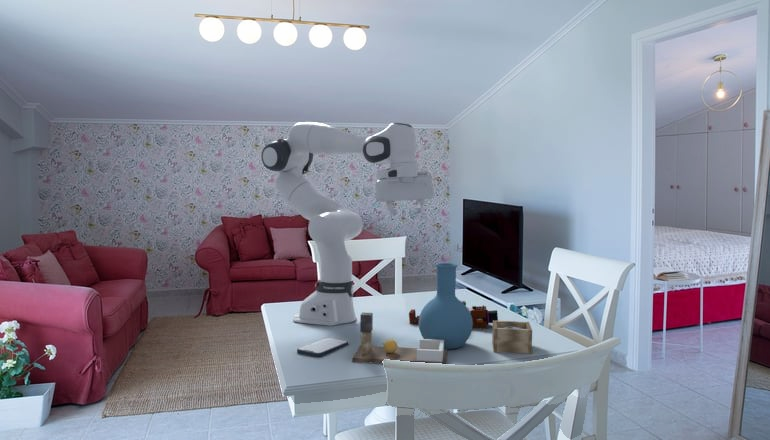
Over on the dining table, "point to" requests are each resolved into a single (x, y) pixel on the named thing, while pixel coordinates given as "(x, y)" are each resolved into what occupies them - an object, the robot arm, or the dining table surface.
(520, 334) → the box
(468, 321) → the vase
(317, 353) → the phone case
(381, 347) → the board
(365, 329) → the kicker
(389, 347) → the ball
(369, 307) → the dining table surface
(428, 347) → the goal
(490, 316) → the toy
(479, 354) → the dining table surface
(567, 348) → the dining table surface
